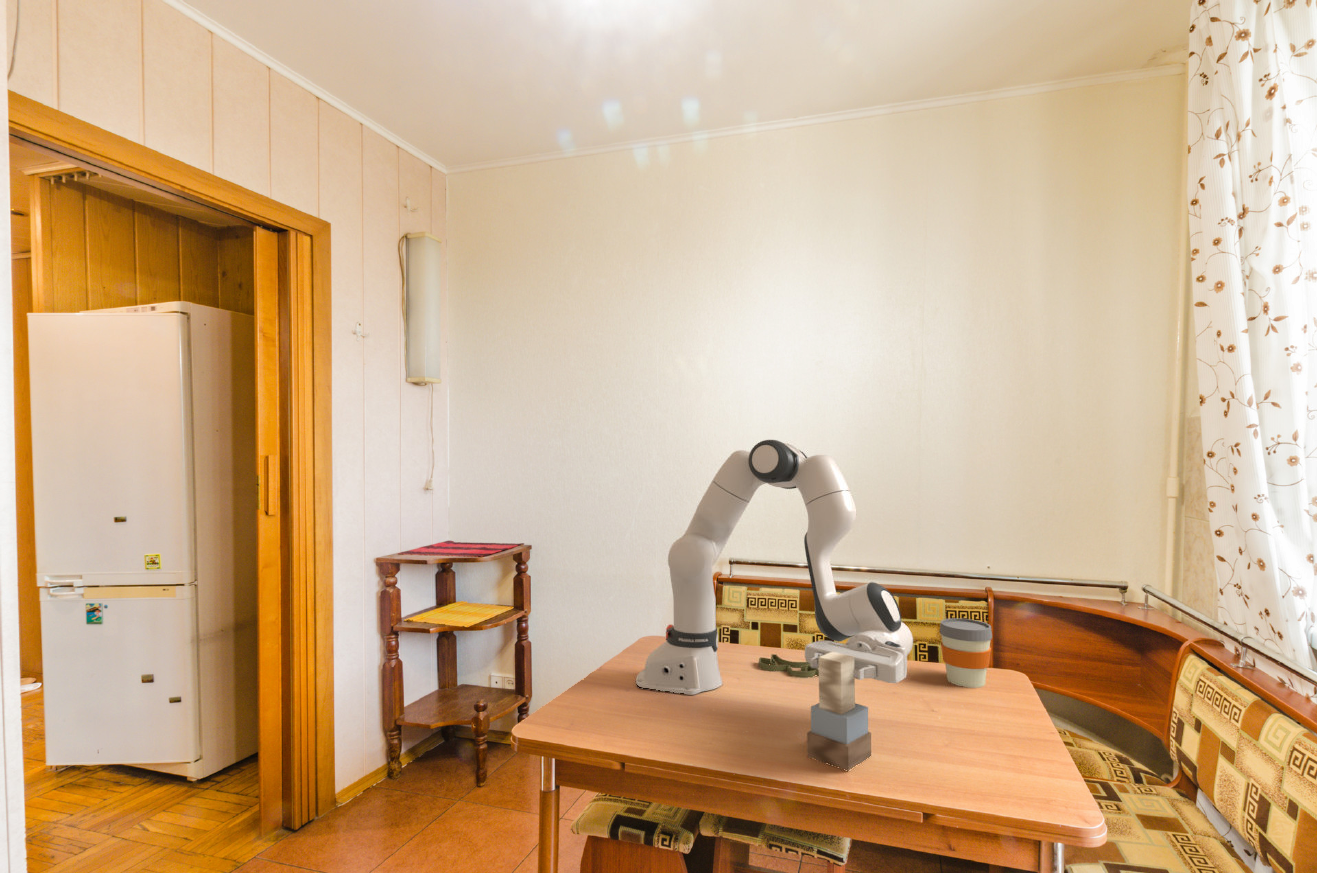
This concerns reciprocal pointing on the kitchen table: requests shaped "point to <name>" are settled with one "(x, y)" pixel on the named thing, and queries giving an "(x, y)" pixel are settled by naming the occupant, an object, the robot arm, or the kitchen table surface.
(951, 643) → the reusable coffee cup
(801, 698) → the kitchen table surface
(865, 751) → the walnut base block
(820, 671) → the cream pillar block
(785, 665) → the cookie cutter
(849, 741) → the slate-blue top block
